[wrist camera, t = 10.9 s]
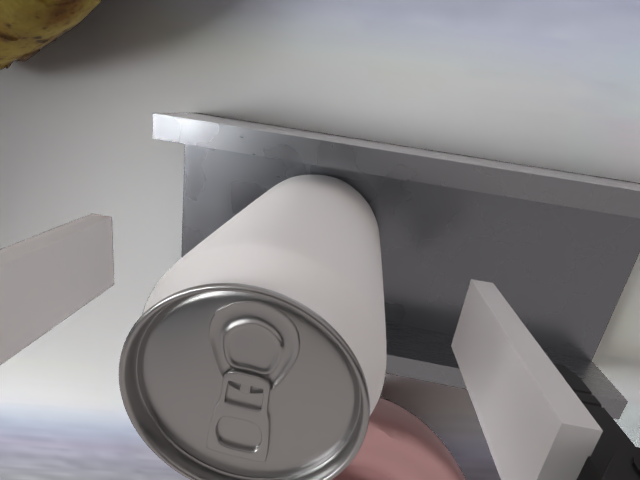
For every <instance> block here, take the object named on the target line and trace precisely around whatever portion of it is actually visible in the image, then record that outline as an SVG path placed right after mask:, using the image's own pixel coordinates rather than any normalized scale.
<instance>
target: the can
mask: <svg viewBox="0 0 640 480" xmlns="http://www.w3.org/2000/svg"><path fill="white" fill-rule="evenodd" d="M386 358H387V354H386V325H385V307H384V291H383V275H382V261H381V247H380V236H379V229H378V224H377V221H376V218H375V215H374V213H373V211H372V209H371V207H370V206H369V204H368V203H367V201H366V200H365V199H364V198H363V196H362V195H361V194H360V193H359V192H358V191H356V190H355V189H354V188H353V187H352V186H350V185H349V184H347V183H346V182H344V181H342V180H340V179H337V178H334V177H330V176H325V175H299V176H295V177H291V178H289V179H286V180H284V181H282V182H280V183H278V184H277V185H275V186H274V187H272V188H271V189H269V190H268V191H267V192H265V193H264V194H263V195H261V196H260V197H259V198H257V199H256V200H255V201H253V202H252V203H251V204H249V205H248V206H247V207H246V208H244V209H243V210H242V211H240V212H239V213H238V214H236V215H235V216H234V217H233V218H231V219H230V220H229V221H227V222H226V223H225V224H223V225H222V226H221V227H220V228H218V229H217V230H216V231H214V232H213V233H212V234H211V235H209V236H208V237H207V238H206V239H204V240H203V241H202V242H200V243H199V244H198V245H197V246H195V247H194V248H193V249H192V250H190V251H189V252H188V253H187V254H186V255H184V256H183V257H182V258H181V259H180V260H179V261H177V262H176V263H175V264H174V265H173V266H172V267H171V268H170V269H169V270H168V271H167V272H166V273H165V274H164V275H163V277H162V278H161V279H160V280H159V281H158V283H157V284H156V286H155V287H154V289H153V290H152V292H151V294H150V296H149V298H148V300H147V302H146V305H145V308H144V310H143V314H142V316H141V317H140V318H139V320H138V321H137V322H136V323H135V325H134V326H133V328H132V329H131V331H130V333H129V334H128V336H127V338H126V341H125V343H124V346H123V349H122V352H121V357H120V363H119V385H120V391H121V396H122V400H123V403H124V406H125V409H126V412H127V414H128V416H129V418H130V420H131V422H132V424H133V426H134V428H135V429H136V431H137V432H138V434H139V435H140V437H141V438H142V439H143V441H144V442H145V443H146V444H147V445H148V447H149V448H150V449H151V450H152V451H153V452H154V453H155V454H156V455H157V456H158V457H159V458H160V459H161V460H163V461H164V462H165V463H166V464H167V465H169V466H170V467H171V468H173V469H174V470H175V471H177V472H178V473H180V474H182V475H183V476H185V477H187V478H188V479H190V480H332V479H333V478H335V477H336V476H337V475H339V474H340V473H341V472H342V471H343V470H344V469H345V468H346V467H347V466H348V465H349V464H350V463H351V461H352V460H353V459H354V457H355V456H356V455H357V453H358V451H359V450H360V448H361V446H362V444H363V441H364V439H365V436H366V433H367V429H368V424H369V417H370V415H371V414H372V412H373V410H374V408H375V406H376V404H377V402H378V400H379V398H380V395H381V392H382V389H383V385H384V380H385V372H386Z"/></svg>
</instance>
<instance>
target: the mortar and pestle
mask: <svg viewBox="0 0 640 480" xmlns="http://www.w3.org/2000/svg"><path fill="white" fill-rule="evenodd" d="M332 480H466V479H465V477H464V475H463V473H462V471H461V469H460V467H459V466H458V464H457V462H456V461H455V459H454V458H453V456H452V454H451V453H450V452H449V450H448V449H447V447H446V446H445V445H444V443H443V442H442V441H441V440H440V439H439V438H438V437H437V435H436V434H435V433H434V432H433V431H432V430H431V429H430V428H429V427H428V426H427V425H426V424H424V423H423V422H422V421H421V420H420V419H418V418H417V417H416V416H415V415H413V414H412V413H410V412H409V411H407V410H406V409H404V408H402V407H401V406H399V405H397V404H394V403H392V402H390V401H388V400H385V399H382V398H379V400H378V402H377V404H376V406H375V408H374V410H373V412H372V414H371V415H370V417H369V424H368V429H367V433H366V436H365V439H364V441H363V444H362V446H361V448H360V450H359V451H358V453H357V455H356V456H355V457H354V459H353V460H352V461H351V463H350V464H349V465H348V466H347V467H346V468H345V469H344V470H343V471H342V472H341V473H340V474H339V475H337V476H336V477H335V478H333V479H332Z"/></svg>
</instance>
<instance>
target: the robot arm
mask: <svg viewBox="0 0 640 480" xmlns="http://www.w3.org/2000/svg"><path fill="white" fill-rule="evenodd" d="M113 285H114V263H113V234H112V217H109V216H103V215H97V214H90V215H87V216H84V217H82V218H79V219H77V220H74V221H72V222H69V223H67V224H64V225H61V226H59V227H56V228H54V229H51V230H49V231H46V232H43V233H41V234H38V235H36V236H33V237H31V238H28V239H26V240H23V241H20V242H18V243H15V244H13V245H10V246H8V247H5V248H3V249H0V365H1V364H3V363H4V362H6V361H7V360H8V359H10V358H11V357H13V356H14V355H15V354H17V353H18V352H20V351H21V350H22V349H24V348H25V347H27V346H28V345H29V344H31V343H32V342H34V341H35V340H37V339H38V338H39V337H41V336H42V335H44V334H45V333H46V332H48V331H49V330H51V329H52V328H53V327H55V326H56V325H58V324H59V323H60V322H62V321H63V320H65V319H66V318H67V317H69V316H70V315H72V314H73V313H75V312H76V311H77V310H79V309H80V308H82V307H83V306H84V305H86V304H87V303H89V302H90V301H91V300H93V299H94V298H96V297H97V296H98V295H100V294H101V293H103V292H104V291H105V290H107V289H108V288H110V287H111V286H113ZM451 347H452V349H453V352H454V355H455V358H456V360H457V363H458V366H459V368H460V371H461V374H462V376H463V379H464V382H465V384H466V387H467V390H468V393H469V395H470V398H471V401H472V403H473V406H474V409H475V411H476V414H477V417H478V420H479V422H480V425H481V428H482V430H483V433H484V436H485V438H486V441H487V444H488V447H489V449H490V452H491V455H492V457H493V460H494V463H495V465H496V468H497V471H498V474H499V476H500V479H501V480H640V448H638V447H635V446H634V444H633V443H632V442H631V441H630V439H629V438H628V437H627V436H626V434H625V433H624V432H623V431H622V429H621V428H620V427H619V426H618V425H617V423H616V422H615V421H614V420H613V418H612V417H611V416H610V415H609V413H608V412H607V411H606V410H605V408H602V407H601V403H600V402H599V401H598V400H597V398H596V397H595V396H594V395H592V392H591V391H590V390H589V388H588V387H587V386H586V385H585V383H584V382H583V381H582V380H581V378H579V377H578V376H577V375H576V374H574V373H573V372H572V371H570V370H569V369H568V368H567V367H565V366H564V365H563V364H558V363H552V362H551V360H550V359H549V357H548V356H547V355H546V353H545V352H544V351H543V349H542V348H541V347H540V345H539V344H538V343H537V341H536V340H535V339H534V337H533V336H532V335H531V333H530V332H529V331H528V329H527V328H526V327H525V325H524V324H523V322H522V321H521V320H520V318H519V317H518V316H517V314H516V313H515V312H514V310H513V309H512V308H511V306H510V305H509V304H508V302H507V301H506V300H505V298H504V297H503V296H502V294H501V293H500V292H499V290H498V289H497V287H496V286H495V285H494V283H491V282H485V281H479V280H473V279H471V281H470V284H469V288H468V291H467V294H466V298H465V301H464V304H463V308H462V311H461V314H460V318H459V321H458V324H457V328H456V331H455V334H454V338H453V341H452V344H451Z"/></svg>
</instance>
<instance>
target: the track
mask: <svg viewBox="0 0 640 480" xmlns="http://www.w3.org/2000/svg"><path fill="white" fill-rule="evenodd" d="M153 139H159V140H165V141H171V142H177V143H183V144H185V158H184V191H183V224H182V257H183V256H184V255H186V254H187V253H188V252H189V251H190V250H192V249H193V248H194V247H195V246H197V245H198V244H199V243H200V242H202V241H203V240H204V239H206V238H207V237H208V236H209V235H211V234H212V233H213V232H214V231H216V230H217V229H218V228H220V227H221V226H222V225H223V224H225V223H226V222H227V221H229V220H230V219H231V218H233V217H234V216H235V215H236V214H238V213H239V212H240V211H242V210H243V209H244V208H246V207H247V206H248V205H249V204H251V203H252V202H253V201H255V200H256V199H257V198H259V197H260V196H261V195H263V194H264V193H265V192H267V191H268V190H269V189H271V188H272V187H274V186H275V185H277V184H278V183H280V182H282V181H284V180H286V179H289V178H291V177H295V176H299V175H325V176H330V177H334V178H337V179H340V180H342V181H344V182H346V183H347V184H349V185H350V186H352V187H353V188H354V189H355V190H356V191H358V192H359V193H360V194H361V195H362V196H363V198H364V199H365V200H366V201H367V203H368V204H369V206H370V207H371V209H372V211H373V213H374V215H375V218H376V221H377V224H378V229H379V236H380V247H381V261H382V275H383V291H384V307H385V325H386V354H387V358H386V372H385V373H388V374H393V375H398V376H403V377H408V378H413V379H418V380H423V381H428V382H434V383H439V384H444V385H449V386H454V387H459V388H464V389H467V387H466V384H465V382H464V379H463V376H462V374H461V371H460V368H459V366H458V363H457V360H456V358H455V355H454V352H453V349H452V347H451V344H452V341H453V338H454V334H455V331H456V328H457V324H458V321H459V318H460V314H461V311H462V308H463V304H464V301H465V298H466V294H467V291H468V288H469V284H470V281H471V279H473V280H479V281H485V282H491V283H494V285H495V286H496V287H497V289H498V290H499V292H500V293H501V294H502V296H503V297H504V298H505V300H506V301H507V302H508V304H509V305H510V306H511V308H512V309H513V310H514V312H515V313H516V314H517V316H518V317H519V318H520V320H521V321H522V322H523V324H524V325H525V327H526V328H527V329H528V331H529V332H530V333H531V335H532V336H533V337H534V339H535V340H536V341H537V343H538V344H539V345H540V347H541V348H542V349H543V351H544V352H545V353H546V355H547V356H548V357H549V359H550V360H551V362H552V363H558V364H563V365H564V366H565V367H567V368H568V369H569V370H570V371H572V372H573V373H574V374H576V375H577V376H578V377H579V378H581V380H582V381H583V382H584V383H585V385H586V386H587V387H588V388H589V390H590V391H591V392H592V395H594V396H595V397H596V398H597V400H598V401H599V402H600V403H601V407H602V408H605V410H606V411H607V412H608V413H609V415H610V416H611V417H612V418H614V419H619V418H620V416H621V414H622V412H623V410H624V408H625V406H626V404H627V402H628V401H627V400H626V399H625V398H624V397H623V396H622V395H621V393H620V392H619V391H618V390H617V389H616V388H615V387H614V385H613V384H612V383H611V382H610V381H609V380H608V379H607V378H606V376H605V375H604V374H603V373H602V372H601V371H600V370H599V369H598V367H597V366H596V365H595V364H594V363H593V362H592V358H593V356H594V354H595V352H596V349H597V347H598V345H599V343H600V340H601V338H602V336H603V334H604V331H605V329H606V327H607V324H608V322H609V320H610V318H611V315H612V313H613V311H614V309H615V306H616V304H617V302H618V300H619V297H620V295H621V293H622V291H623V288H624V286H625V284H626V282H627V279H628V277H629V275H630V273H631V270H632V268H633V266H634V264H635V261H636V259H637V257H638V254H639V252H640V183H635V182H628V181H622V180H616V179H609V178H603V177H597V176H590V175H584V174H578V173H571V172H565V171H559V170H552V169H546V168H540V167H533V166H527V165H521V164H515V163H508V162H502V161H496V160H489V159H483V158H477V157H470V156H464V155H458V154H451V153H445V152H439V151H432V150H426V149H420V148H414V147H407V146H401V145H395V144H388V143H382V142H376V141H369V140H363V139H357V138H350V137H344V136H338V135H331V134H325V133H319V132H313V131H306V130H300V129H294V128H287V127H281V126H275V125H268V124H262V123H256V122H249V121H243V120H237V119H230V118H224V117H218V116H211V115H205V114H199V113H153ZM182 257H181V258H182Z"/></svg>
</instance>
